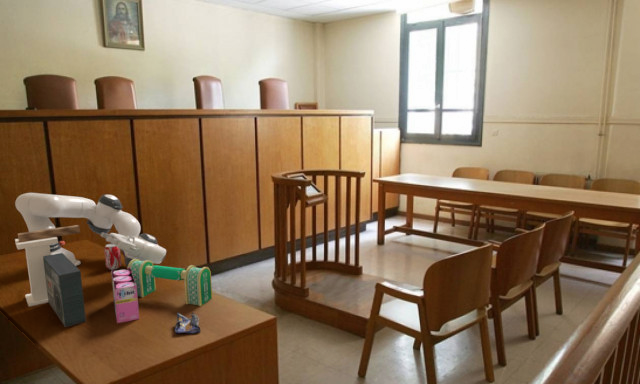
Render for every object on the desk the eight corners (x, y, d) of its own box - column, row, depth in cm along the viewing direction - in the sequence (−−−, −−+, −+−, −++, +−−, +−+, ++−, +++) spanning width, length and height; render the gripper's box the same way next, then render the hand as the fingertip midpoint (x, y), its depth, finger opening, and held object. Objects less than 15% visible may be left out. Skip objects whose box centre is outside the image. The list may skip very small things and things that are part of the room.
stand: (60, 289, 199) (53, 232, 195) (64, 298, 190) (57, 238, 185) (22, 297, 191) (14, 238, 186) (25, 307, 182) (17, 245, 177)
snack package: (211, 323, 168) (182, 319, 170) (209, 308, 165) (180, 304, 168) (195, 344, 157) (165, 339, 159) (193, 328, 154) (163, 324, 157)
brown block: (78, 231, 197) (78, 224, 196) (80, 232, 194) (79, 226, 194) (18, 240, 183) (17, 233, 183) (19, 242, 181) (18, 235, 181)
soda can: (102, 269, 225) (100, 246, 223) (114, 265, 231) (112, 242, 229) (113, 271, 222) (111, 247, 220) (124, 266, 229) (122, 243, 226)
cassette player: (48, 302, 186) (42, 256, 183) (67, 298, 191) (62, 252, 187) (65, 327, 164) (59, 275, 161) (86, 321, 169) (80, 270, 165)
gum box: (113, 300, 188) (110, 269, 185) (133, 296, 191) (131, 266, 189) (117, 323, 167) (113, 289, 164) (139, 319, 170) (136, 285, 168)
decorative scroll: (212, 298, 189) (210, 264, 186) (200, 306, 181) (198, 271, 178) (142, 288, 200) (140, 256, 198) (129, 295, 193) (126, 262, 190)
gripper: (136, 258, 201) (106, 247, 193) (124, 248, 217) (95, 238, 209) (142, 244, 203) (113, 234, 194) (130, 236, 219) (102, 225, 210)
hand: (103, 236), depth 202 cm, fingers open, 8 cm apart
